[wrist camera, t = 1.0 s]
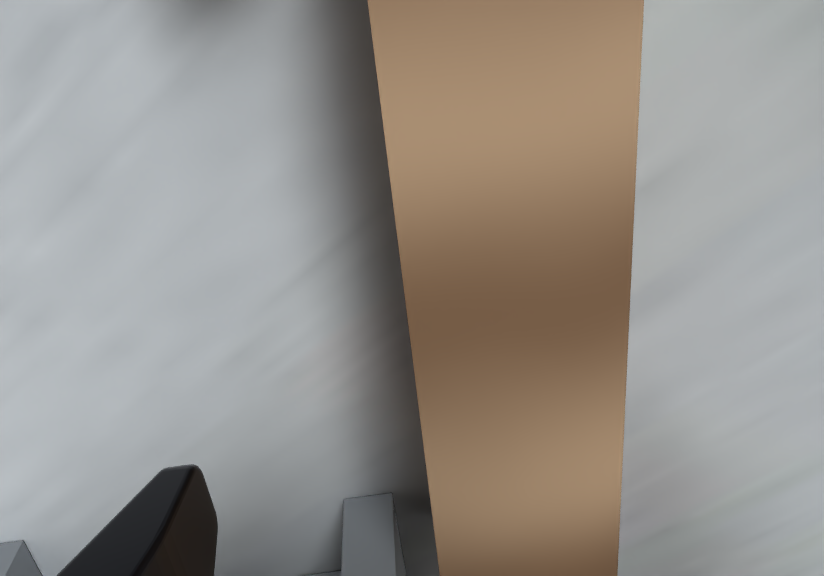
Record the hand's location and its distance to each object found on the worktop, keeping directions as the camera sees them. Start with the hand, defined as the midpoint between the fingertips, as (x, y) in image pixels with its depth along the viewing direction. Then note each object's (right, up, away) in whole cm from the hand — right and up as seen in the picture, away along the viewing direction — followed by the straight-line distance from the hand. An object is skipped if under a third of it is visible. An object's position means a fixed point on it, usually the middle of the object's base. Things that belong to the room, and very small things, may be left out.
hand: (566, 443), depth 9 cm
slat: (0, +3, +6) cm, 7 cm away
